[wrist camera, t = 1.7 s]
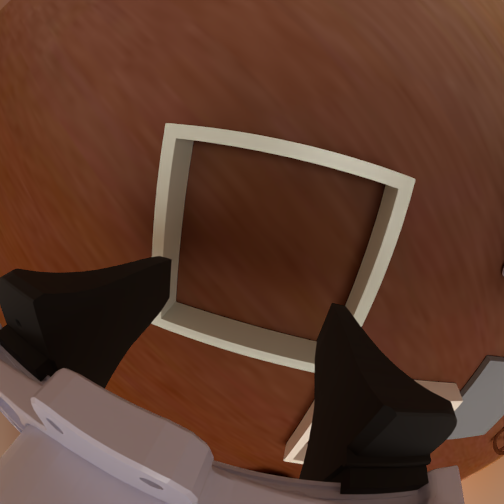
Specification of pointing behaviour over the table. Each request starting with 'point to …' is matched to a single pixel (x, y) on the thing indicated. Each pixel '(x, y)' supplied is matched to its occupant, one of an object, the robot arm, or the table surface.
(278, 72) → the table surface
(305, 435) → the bin
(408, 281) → the table surface
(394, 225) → the bin
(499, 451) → the glasses
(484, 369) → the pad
